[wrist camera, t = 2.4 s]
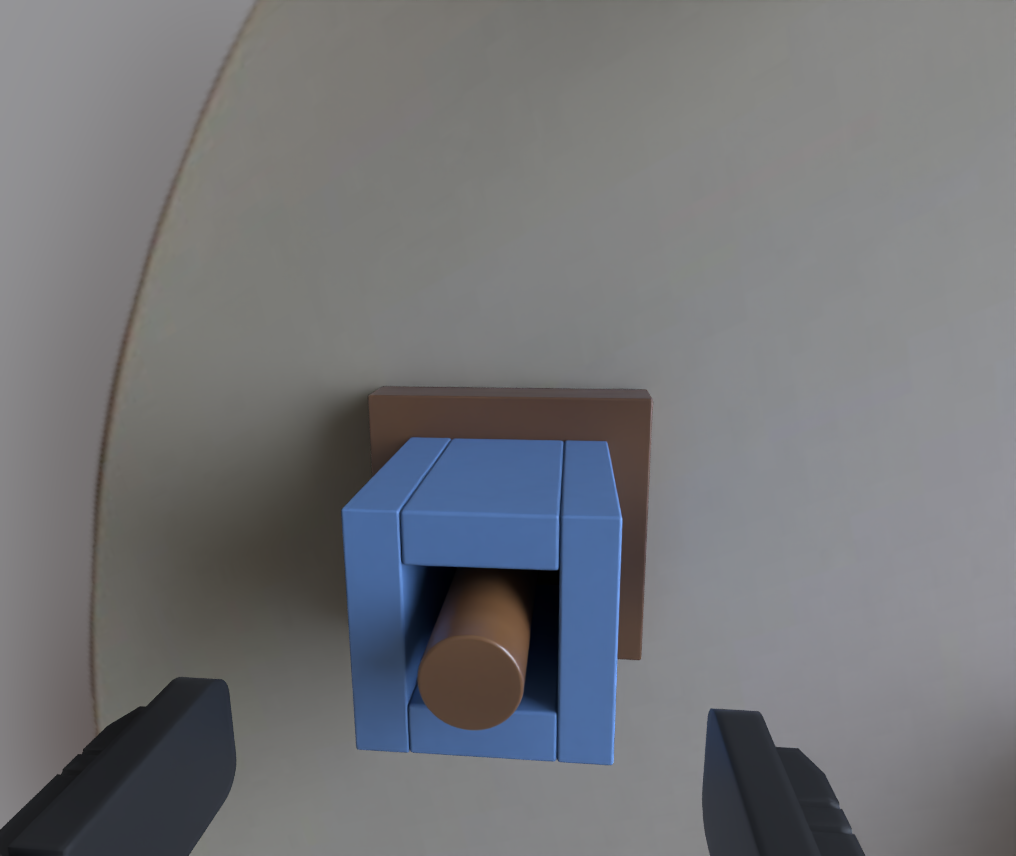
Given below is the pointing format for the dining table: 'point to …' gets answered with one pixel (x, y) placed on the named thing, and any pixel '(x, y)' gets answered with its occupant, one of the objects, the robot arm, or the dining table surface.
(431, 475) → the blue pencil cup
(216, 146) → the dining table surface
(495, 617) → the dowel stand
